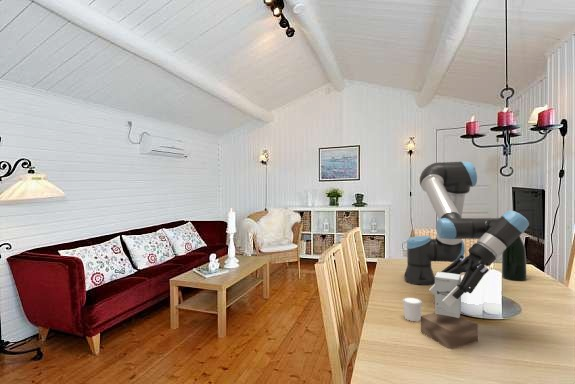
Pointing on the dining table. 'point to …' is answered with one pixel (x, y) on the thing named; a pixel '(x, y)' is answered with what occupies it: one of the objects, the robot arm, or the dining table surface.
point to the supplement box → (442, 289)
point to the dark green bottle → (514, 261)
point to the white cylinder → (412, 308)
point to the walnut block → (449, 330)
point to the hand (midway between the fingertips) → (438, 297)
